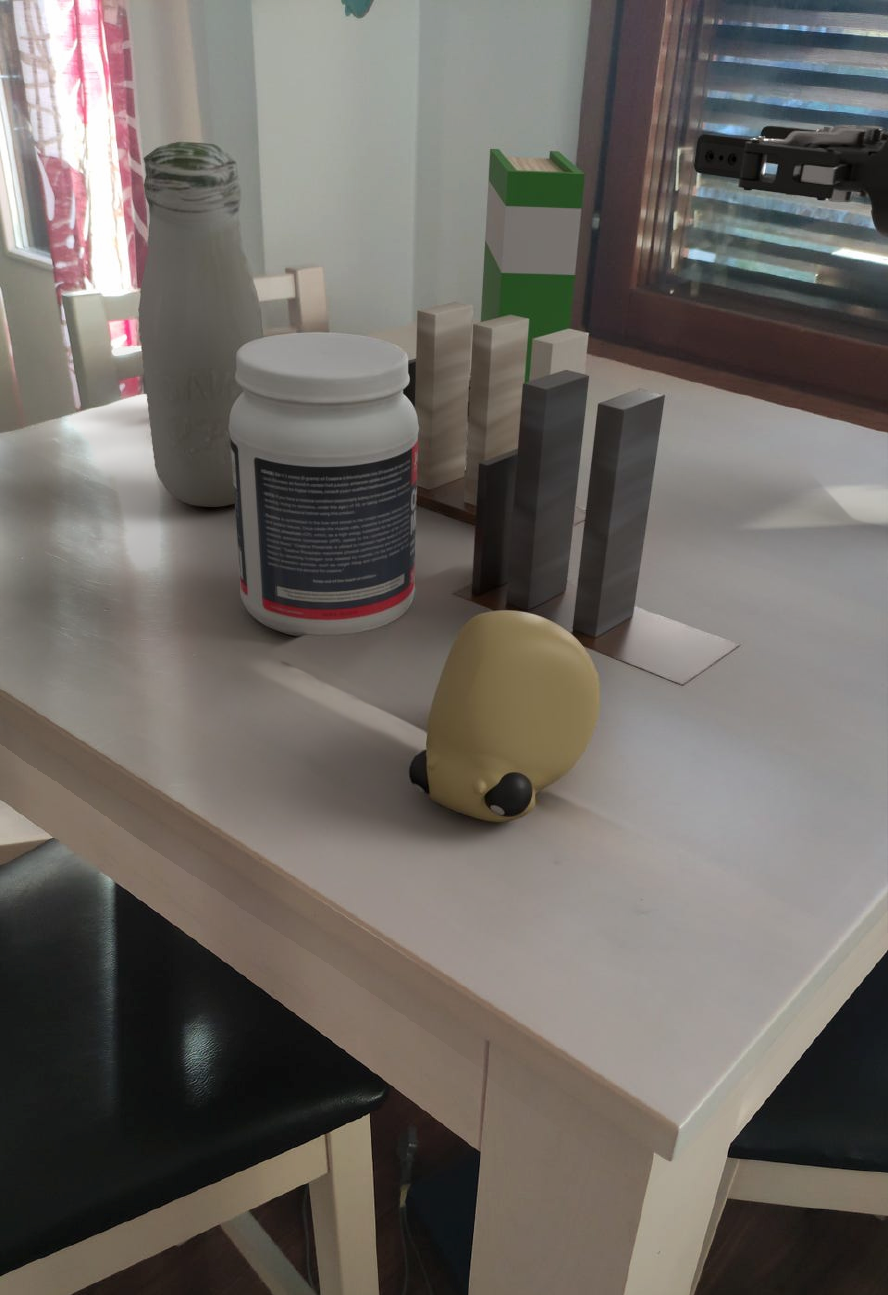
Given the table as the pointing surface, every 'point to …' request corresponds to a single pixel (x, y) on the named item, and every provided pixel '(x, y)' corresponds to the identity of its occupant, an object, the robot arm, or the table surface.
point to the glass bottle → (194, 317)
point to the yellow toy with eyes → (506, 715)
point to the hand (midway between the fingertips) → (730, 147)
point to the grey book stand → (541, 524)
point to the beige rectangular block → (558, 353)
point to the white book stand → (465, 402)
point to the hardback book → (531, 242)
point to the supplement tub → (324, 482)
